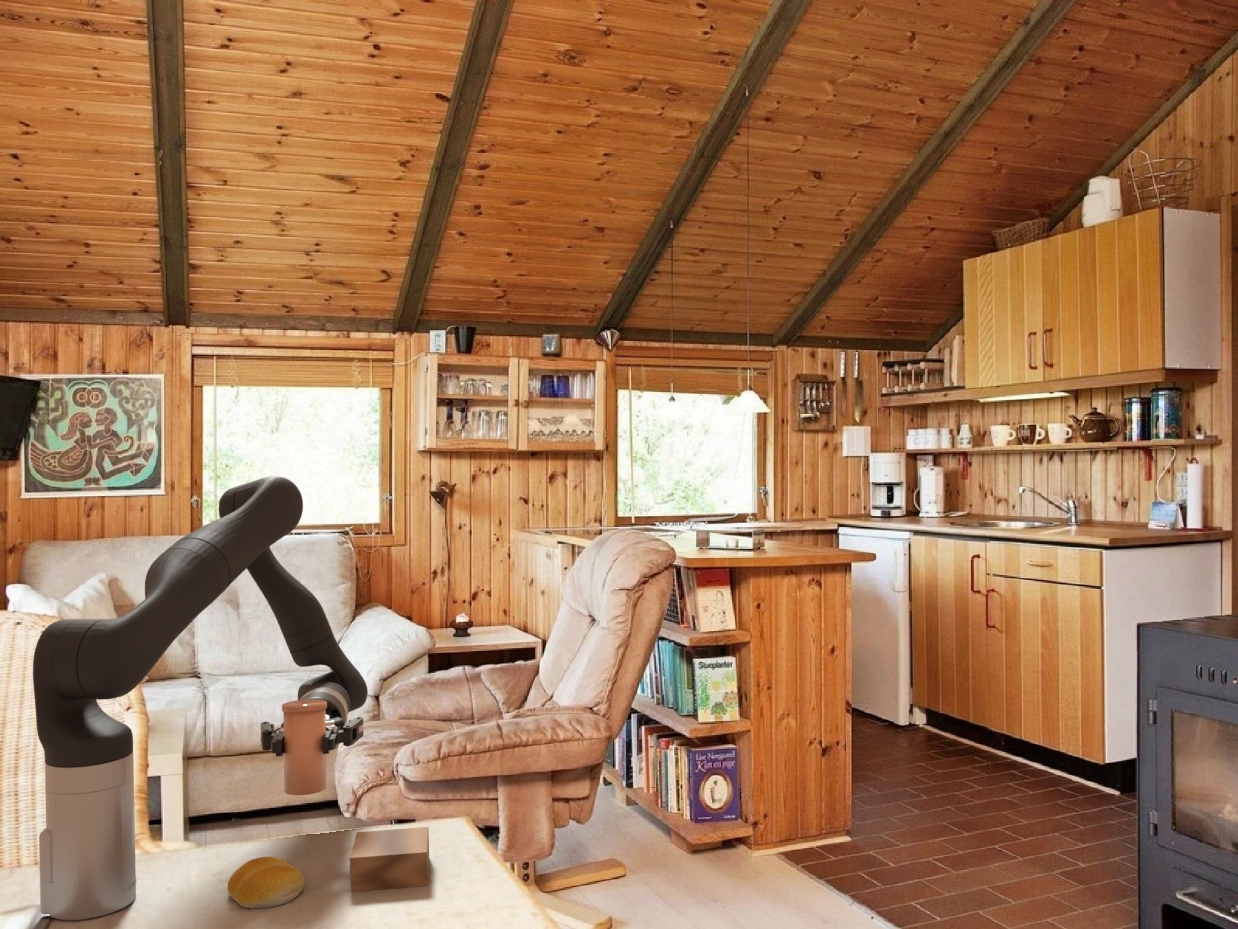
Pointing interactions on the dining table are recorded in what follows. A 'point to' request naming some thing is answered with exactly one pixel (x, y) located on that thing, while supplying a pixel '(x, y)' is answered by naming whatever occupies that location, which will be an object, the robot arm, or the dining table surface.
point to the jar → (304, 746)
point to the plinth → (390, 859)
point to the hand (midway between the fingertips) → (302, 747)
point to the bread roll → (265, 883)
